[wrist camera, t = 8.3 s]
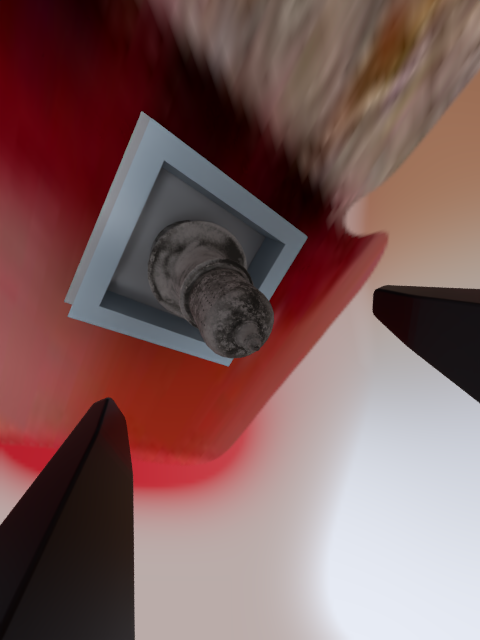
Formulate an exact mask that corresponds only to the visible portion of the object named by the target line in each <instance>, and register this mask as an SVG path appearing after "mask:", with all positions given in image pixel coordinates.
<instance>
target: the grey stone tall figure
mask: <svg viewBox="0 0 480 640" xmlns="http://www.w3.org/2000/svg"><path fill="white" fill-rule="evenodd" d="M148 281H149V284H150V288H151V291H152V293H153V294H154V296H155V298H156V299H157V301H158V302H159V303H160V304H161V305H162V306H163V307H164V308H165V309H166V310H167V311H169V312H171V313H173V314H175V315H177V316H179V317H183V318H185V319H186V320H187V321H188V322H189V323H190V324H191V325H192V326H194V327H196V328H197V329H199V331H200V333H201V336H202V338H203V340H204V341H205V343H206V345H207V346H208V347H209V348H210V349H211V350H212V351H213V352H214V353H215V354H217V355H220V356H222V357H225V358H241V357H245V356H248V355H250V354H252V353H254V352H256V351H258V350H259V349H260V347H262V346H263V344H264V343H265V342H266V341H267V339H268V337H269V335H270V333H271V331H272V327H273V323H274V312H273V309H272V306H271V304H270V302H269V300H268V299H267V298H266V296H265V295H264V294H263V293H262V292H260V291H259V290H258V289H257V288H256V287H254V286H253V282H252V279H251V276H250V274H249V273H248V271H247V263H246V257H245V254H244V251H243V249H242V246H241V245H240V243H239V242H238V241H237V239H236V238H235V236H234V235H232V234H231V233H230V232H229V231H228V230H226V229H225V228H223V227H221V226H219V225H217V224H214V223H212V222H205V221H191V220H184V221H177V222H175V223H173V224H170V225H168V226H167V227H165V228H164V229H163V230H162V231H161V232H160V233H159V234H158V235H157V237H156V239H155V240H154V242H153V245H152V248H151V252H150V258H149V261H148Z"/></svg>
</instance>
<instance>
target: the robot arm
mask: <svg viewBox="0 0 480 640" xmlns="http://www.w3.org/2000/svg"><path fill="white" fill-rule="evenodd" d="M373 313H374V315H375V316H376V318H377V319H378V320H380V322H382V323H383V324H384V325H385V326H386V327H387V328H388V329H389V330H390V331H391V332H392V333H393V334H394V335H395V336H396V337H398V338H399V339H400V340H401V341H402V342H403V343H404V344H405V345H406V346H407V347H409V348H410V349H411V350H412V351H414V352H415V353H416V354H417V355H419V356H420V357H422V358H423V359H424V360H425V361H426V362H428V363H429V364H430V365H432V366H433V367H434V368H435V369H437V370H438V371H439V372H441V373H442V374H443V375H444V376H446V377H447V378H448V379H450V380H451V381H452V382H454V383H455V384H456V385H457V386H459V387H460V388H461V389H462V390H464V391H465V392H466V393H468V394H469V395H470V396H471V397H473V398H474V399H475V400H477V401H478V402H479V403H480V289H463V288H439V287H416V286H394V285H393V286H392V285H386V286H383V287H380V288H378V289H376V290H375V291H374V294H373ZM133 519H134V518H133V471H132V462H131V455H130V447H129V440H128V432H127V424H126V420H125V417H124V415H123V414H122V412H121V411H120V409H119V408H118V407H117V405H116V404H115V402H114V401H113V399H111V398H105V399H102V400H100V401H97V402H95V403H94V404H93V405H92V406H91V407H90V409H89V410H88V411H87V413H86V414H85V415H84V417H83V418H82V419H81V421H80V422H79V423H78V424H77V426H76V427H75V428H74V430H73V431H72V432H71V434H70V435H69V436H68V438H67V439H66V440H65V441H64V443H63V444H62V445H61V447H60V448H59V449H58V451H57V452H56V453H55V455H54V456H53V457H52V459H51V460H50V461H49V462H48V464H47V465H46V466H45V468H44V469H43V470H42V472H41V473H40V474H39V476H38V477H37V478H36V479H35V481H34V482H33V484H32V485H31V486H30V487H29V489H28V490H27V491H26V492H25V494H24V495H23V496H22V498H21V499H20V500H19V502H18V503H17V504H16V506H15V507H14V508H13V509H12V511H11V512H10V513H9V515H8V516H7V518H6V519H5V520H4V521H3V523H2V524H1V525H0V640H135V631H134V630H135V628H134V626H135V625H134V527H133V525H134V520H133Z"/></svg>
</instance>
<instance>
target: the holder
mask: <svg viewBox="0 0 480 640" xmlns="http://www.w3.org/2000/svg"><path fill="white" fill-rule="evenodd" d="M184 220H191V221H205V222H212V223H214V224H217V225H219V226H221V227H223V228H225V229H226V230H228V231H229V232H230V233H231V234H232V235H234V236H235V238H236V239H237V241H238V242H239V243H240V245H241V246H242V249H243V251H244V254H245V257H246V263H247V271H248V273H249V274H250V276H251V279H252V282H253V286H254V287H256V288H257V289H258V290H259V291H260V292H262V293H263V294H264V295H265V296H266V298H267V299H268V300H270V298H271V296H272V295H273V293H274V292H275V290H276V288H277V287H278V285H279V283H280V282H281V280H282V279H283V277H284V275H285V274H286V272H287V270H288V269H289V267H290V265H291V264H292V262H293V261H294V259H295V257H296V256H297V254H298V252H299V251H300V249H301V248H302V246H303V244H304V243H305V241H306V239H307V238H308V237H307V236H306V235H305V234H303V233H302V232H301V231H299V230H298V229H297V228H296V227H294V226H293V225H292V224H290V223H289V222H288V221H286V220H285V219H284V218H282V217H281V216H280V215H278V214H277V213H276V212H274V211H273V210H272V209H271V208H269V207H268V206H267V205H265V204H264V203H263V202H261V201H260V200H259V199H257V198H256V197H255V196H253V195H252V194H251V193H249V192H248V191H247V190H246V189H244V188H243V187H242V186H240V185H239V184H238V183H236V182H235V181H234V180H232V179H231V178H230V177H228V176H227V175H226V174H224V173H223V172H222V171H221V170H219V169H218V168H217V167H215V166H214V165H213V164H211V163H210V162H209V161H207V160H206V159H205V158H203V157H202V156H201V155H199V154H198V153H197V152H196V151H194V150H193V149H192V148H190V147H189V146H188V145H186V144H185V143H184V142H182V141H181V140H180V139H178V138H177V137H176V136H174V135H173V134H172V133H170V132H169V131H168V130H167V129H165V128H164V127H163V126H161V125H160V124H159V123H157V122H156V121H155V120H153V119H152V118H150V117H149V116H148V115H146V114H145V113H144V112H141V114H140V117H139V119H138V122H137V124H136V127H135V129H134V131H133V134H132V136H131V139H130V141H129V144H128V146H127V149H126V151H125V154H124V156H123V158H122V161H121V163H120V166H119V168H118V171H117V173H116V176H115V178H114V180H113V183H112V185H111V188H110V190H109V193H108V195H107V198H106V200H105V202H104V205H103V207H102V210H101V212H100V215H99V217H98V220H97V222H96V224H95V227H94V229H93V232H92V234H91V237H90V239H89V242H88V244H87V247H86V249H85V251H84V254H83V256H82V259H81V261H80V264H79V266H78V269H77V271H76V273H75V276H74V278H73V281H72V283H71V286H70V288H69V291H68V293H67V295H66V298H65V300H64V302H66V303H69V304H72V307H71V310H70V312H69V314H68V317H70V318H74V319H77V320H80V321H83V322H86V323H90V324H93V325H96V326H99V327H103V328H106V329H109V330H112V331H116V332H119V333H122V334H125V335H128V336H132V337H135V338H138V339H141V340H145V341H148V342H151V343H154V344H158V345H161V346H164V347H167V348H171V349H174V350H177V351H180V352H183V353H187V354H190V355H193V356H196V357H200V358H203V359H206V360H209V361H213V362H216V363H219V364H222V365H226V366H229V365H230V363H231V362H232V360H233V358H225V357H222V356H220V355H217V354H215V353H214V352H213V351H212V350H211V349H210V348H209V347H208V346H207V345H206V343H205V341H204V340H203V338H202V336H201V333H200V331H199V329H197V328H196V327H194V326H192V325H191V324H190V323H189V322H188V321H187V320H186V319H185V318H183V317H179V316H177V315H175V314H173V313H171V312H169V311H167V310H166V309H165V308H164V307H163V306H162V305H161V304H160V303H159V302H158V301H157V299H156V298H155V296H154V294H153V293H152V291H151V288H150V284H149V281H148V261H149V258H150V252H151V248H152V245H153V242H154V240H155V239H156V237H157V235H158V234H159V233H160V232H161V231H162V230H163V229H164V228H165V227H167V226H168V225H170V224H173V223H175V222H177V221H184Z"/></svg>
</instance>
